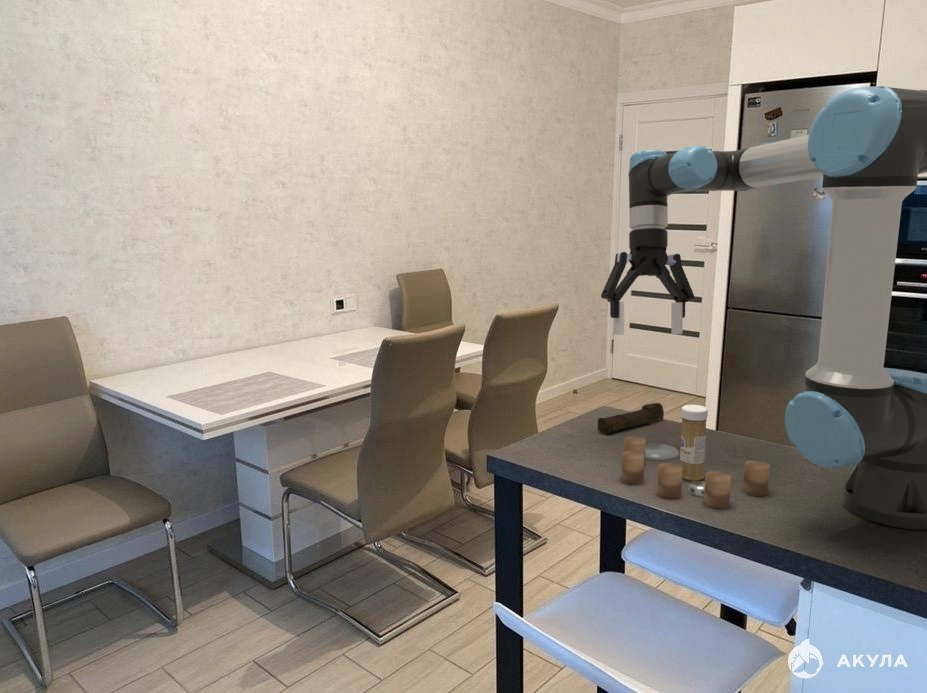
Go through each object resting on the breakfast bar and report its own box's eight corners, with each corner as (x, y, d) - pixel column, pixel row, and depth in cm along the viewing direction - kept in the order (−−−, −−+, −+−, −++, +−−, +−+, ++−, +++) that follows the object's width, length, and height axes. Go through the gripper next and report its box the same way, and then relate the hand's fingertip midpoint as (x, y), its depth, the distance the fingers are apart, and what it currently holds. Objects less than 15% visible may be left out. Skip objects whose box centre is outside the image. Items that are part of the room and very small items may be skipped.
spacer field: (772, 492, 123) (774, 465, 122) (700, 517, 114) (702, 488, 113) (662, 451, 145) (663, 428, 144) (594, 469, 136) (595, 444, 135)
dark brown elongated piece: (608, 437, 155) (608, 417, 154) (596, 432, 159) (596, 412, 158) (671, 424, 164) (672, 404, 163) (659, 419, 168) (660, 400, 167)
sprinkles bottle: (673, 474, 132) (676, 405, 130) (694, 471, 134) (697, 402, 131) (688, 483, 128) (691, 411, 126) (709, 479, 130) (713, 409, 127)
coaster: (688, 455, 142) (688, 452, 142) (655, 464, 138) (655, 461, 138) (655, 443, 150) (655, 440, 150) (623, 451, 146) (623, 448, 146)
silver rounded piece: (715, 492, 124) (716, 484, 124) (707, 500, 121) (707, 491, 121) (693, 487, 127) (693, 479, 127) (684, 494, 124) (685, 486, 124)
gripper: (689, 234, 151) (689, 334, 151) (584, 229, 143) (584, 334, 143) (711, 229, 143) (711, 334, 144) (602, 224, 136) (603, 335, 136)
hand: (648, 334), depth 144 cm, fingers open, 13 cm apart
